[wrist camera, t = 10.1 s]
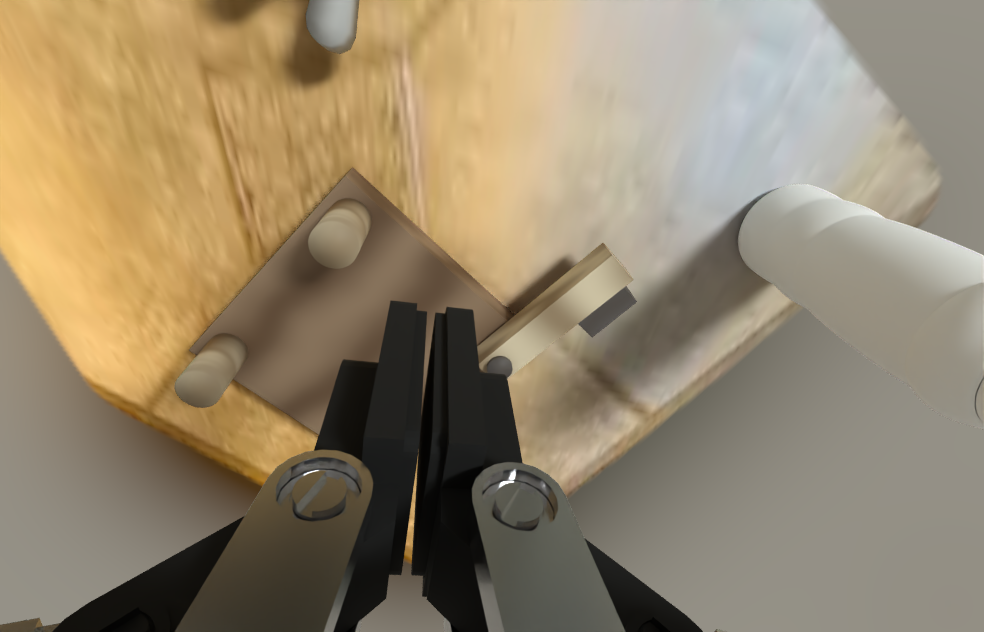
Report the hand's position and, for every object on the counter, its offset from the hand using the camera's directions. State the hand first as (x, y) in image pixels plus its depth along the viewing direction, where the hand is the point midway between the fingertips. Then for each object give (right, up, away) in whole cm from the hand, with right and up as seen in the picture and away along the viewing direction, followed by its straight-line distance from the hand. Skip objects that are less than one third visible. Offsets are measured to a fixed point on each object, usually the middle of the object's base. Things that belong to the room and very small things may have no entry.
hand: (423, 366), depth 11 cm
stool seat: (-5, +2, +29) cm, 29 cm away
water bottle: (+23, +8, +28) cm, 37 cm away
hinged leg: (+5, +2, +26) cm, 27 cm away
